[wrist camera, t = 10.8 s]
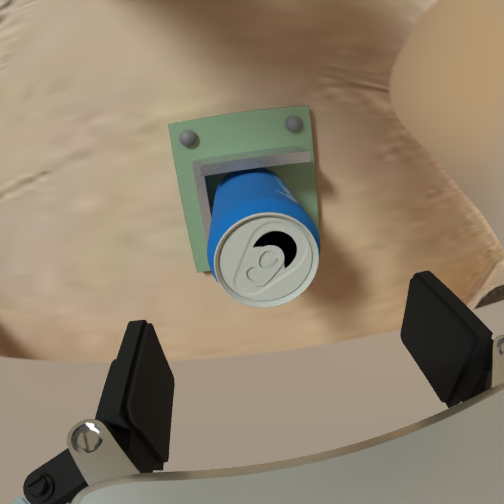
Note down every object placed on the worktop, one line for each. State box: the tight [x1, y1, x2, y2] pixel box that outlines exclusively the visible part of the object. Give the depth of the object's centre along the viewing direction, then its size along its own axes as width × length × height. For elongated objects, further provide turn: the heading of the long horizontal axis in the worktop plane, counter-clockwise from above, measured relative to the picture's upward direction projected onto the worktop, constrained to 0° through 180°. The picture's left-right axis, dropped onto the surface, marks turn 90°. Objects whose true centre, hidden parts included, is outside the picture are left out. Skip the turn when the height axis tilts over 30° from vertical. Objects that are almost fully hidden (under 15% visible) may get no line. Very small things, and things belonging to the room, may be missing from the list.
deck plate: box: [168, 106, 319, 273], centre depth 27 cm, size 14×12×1 cm
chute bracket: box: [192, 146, 311, 245], centre depth 26 cm, size 9×9×4 cm
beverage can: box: [207, 167, 320, 308], centre depth 22 cm, size 6×6×12 cm
